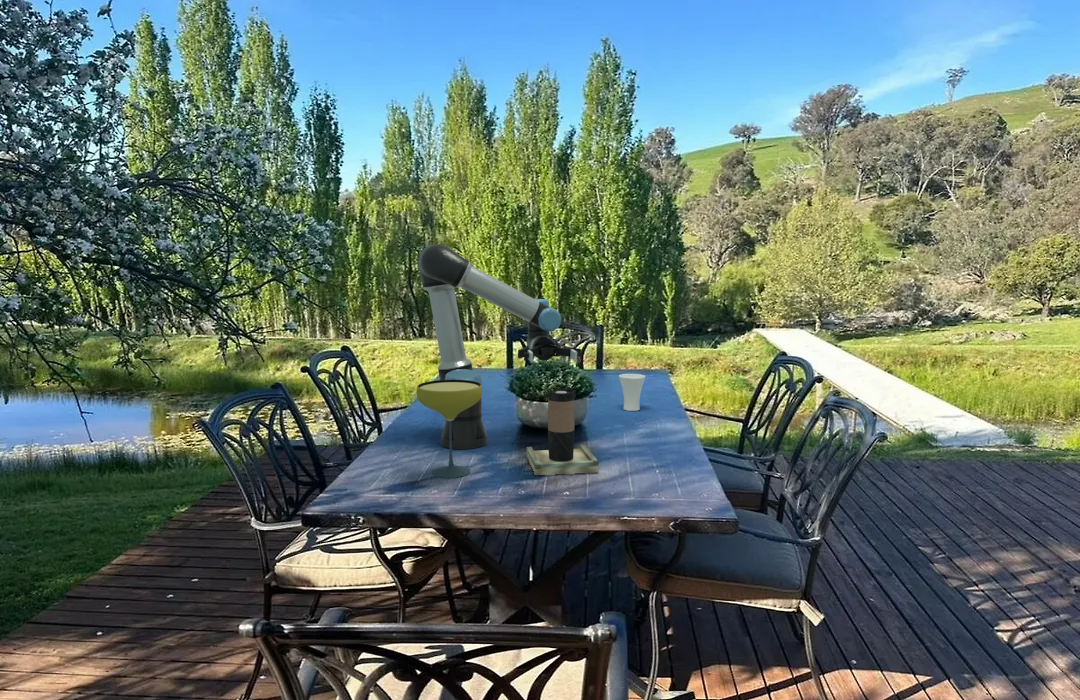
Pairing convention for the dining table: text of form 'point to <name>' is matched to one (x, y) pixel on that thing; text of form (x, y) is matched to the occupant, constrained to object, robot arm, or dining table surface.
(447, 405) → the cocktail glass
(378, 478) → the dining table surface
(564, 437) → the travel mug
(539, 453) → the tray
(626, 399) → the cup
